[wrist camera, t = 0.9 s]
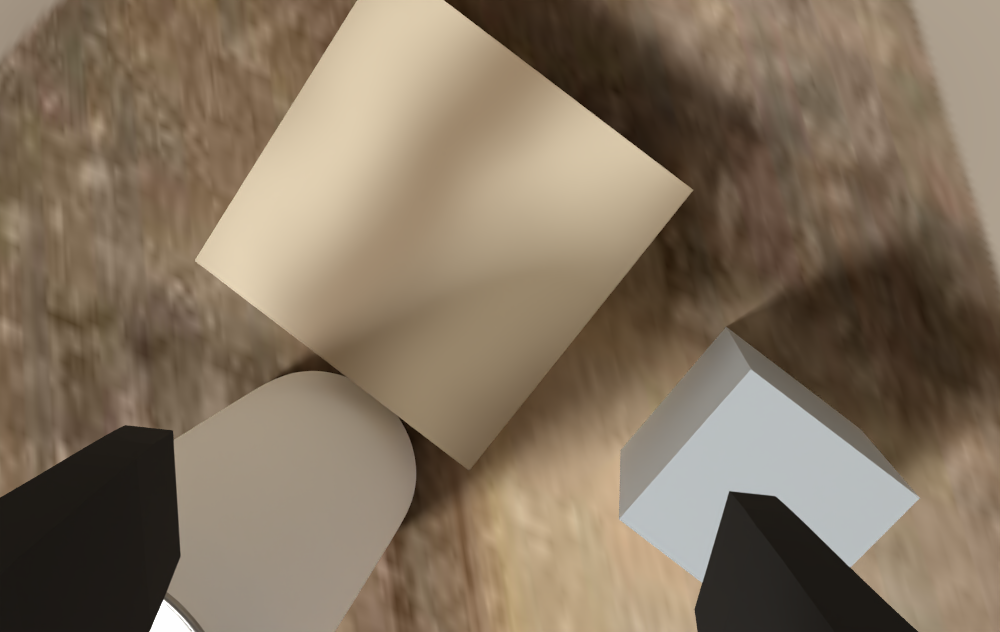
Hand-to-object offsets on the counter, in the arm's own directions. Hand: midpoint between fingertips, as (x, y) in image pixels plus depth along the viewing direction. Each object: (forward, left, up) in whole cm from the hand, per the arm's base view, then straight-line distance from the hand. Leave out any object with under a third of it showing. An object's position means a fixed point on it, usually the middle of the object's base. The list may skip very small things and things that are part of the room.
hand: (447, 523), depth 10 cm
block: (-7, 0, -14) cm, 16 cm away
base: (+4, 0, -14) cm, 15 cm away
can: (+3, +9, -15) cm, 17 cm away
